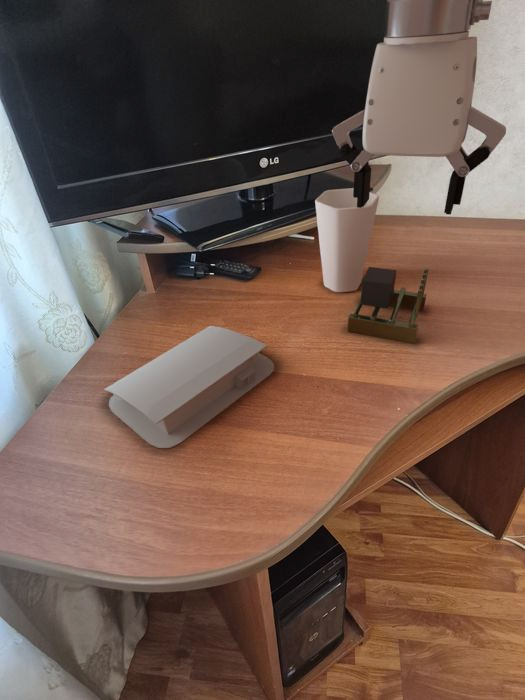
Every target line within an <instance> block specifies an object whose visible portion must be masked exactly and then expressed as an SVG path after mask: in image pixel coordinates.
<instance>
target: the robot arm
mask: <svg viewBox="0 0 525 700" xmlns="http://www.w3.org/2000/svg"><path fill="white" fill-rule="evenodd" d="M492 4H493V0H487V1H485V0H386V7H385V20H384V21H385V22H384V32H383V33H384V35H383V36H384V37H383V42H379V43H377V44H376V47H375V50H374V55H373V59H372V63H371V70H370V73H369V74H370V75H369V79H368V86H367V91H366V93H367V94H366V99H365V106H364V109H362V110H361V111H358V112H357V113H355V114H353V115H352V116H350V117H348V118H347V119H345V120H343V121H342V122H340V123H337V124H336V125H335V126H333V128H332V130H331V133H332V136H333V138H334V140H335V143H336V145H337V147H338V149H339V154H340V155H341V157H342V158H343V159H344V160H345V161H346V162H347V164H349V166H350V168H351V171H352V172H354V173H353V174H354V175H353V188H354V190H353V197H354V198H357V207H358V208H362V207H364V205H365V204H366V203H367V201H368V200H369V194H370V192H371V191H370V190H371V178H372V167H371V165H370V164H369V163H370V162H369V161H370V160H371V159H372V158H373V157H374V155H375V156H392V157H394V156H395V157H421V158H422V157H425V158H426V157H427V158H444V157H445V158H446V159H447V161H448V162H449V164H450V165H451V167H452V169H453V170H452V172H451V175H450V178H449V183H448V188H447V194H446V199H445V204H444V205H445V206H444V210H443V213H444V214H445V215H452V212H453V208H454V206H455V205H457V206H460V205H461V203H462V198H463V193H464V188H465V183H466V179H467V178H466V177H467V176H469V173H471V172H472V171H473V170H475V169H476V168H477V167H479V166H480V165H481V164H482V163H484V162H485V161H486V160H487V159H489V157H490V156H491V154H492V153H493V151H494V150H495V149H496V148H497V146H498V145H499V144H500V143H501V141H502V140H503V139H504V137H505V136H506V135H507V127H506V125H504V124H502V123H500V122H499V121H497V120H495V119H494V118H492V117H490V116H489V115H487V114H485V113H484V112H482V111H481V110H479V109H477V108H475V107H474V106H472V104H473V96H474V91H475V90H474V89H475V82H476V73H477V62H478V37H477V36H469V35H470V30H471V27H472V26H474V25H475V24H476V23H480V21H489V19H490V14H491V10H492ZM361 126H362V136H361V137H362V147H363V150H361V151H360V150H359V149H358V148H357V146H356V145H355V144H354V143H353V142H352V140H351V137H350V132H351V131H353V130H355V129H357V128H359V127H361ZM469 126H470V127H472V128H474V129H475V130H477V131H479V132H480V133H482V134H484V135H485V138H484V140H483V142H482V143H481V144H480V145H479V146H478V147H477V148H476V149H475V150H473V151H472V152H471V153H469V154H468V153H467V152H466V150H465V149H464V147H463V146H462V145H463V143H464V142H465V139H466V137H467V133H468V128H469Z"/></svg>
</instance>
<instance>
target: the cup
mask: <svg viewBox="0 0 525 700" xmlns="http://www.w3.org/2000/svg"><path fill="white" fill-rule="evenodd" d="M353 190H354V187H352V188H350V187H349V188H348V187H347V188H337V189H328V190H324V191H323V192H322V193H321V194H320V195H319V196H318V197H317V198H316V199H315V200H314V203H315V214H316V223H317V233H318V242H319V243H318V244H319V253H320V261H321V270H322V271H321V273H322V282H323V286H324V287H325V288H327V289H328V290H330V291H332V292H334V293H347V292H348V293H349V292H354V291H357V290H358V289H359V287H360V285H362V280H363V277H364V276H363V275H364V271H365V266H366V262H367V257H368V251H369V247H370V243H371V237H372V233H373V229H374V224H375V218H376V214H377V211H378V205H379V200H380V196H379V195H378V194H377V193H374V192H371V191H370V194H369V200H368V201H367V203H366V204H365V205H364V207H362V208H358V207H357V198H354V197H353Z"/></svg>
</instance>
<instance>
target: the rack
mask: <svg viewBox="0 0 525 700" xmlns="http://www.w3.org/2000/svg"><path fill="white" fill-rule="evenodd" d="M428 274H429V268H427V267H425V268H424V271H423V273H422V278H421V280H420V284H419V287H418V290H417V292H415V291H414V292H413V291H407V290H406V289H407V288H406V287H405V286H402V287H401V288H400V289H394V294H393V297H392V299H391V302H390V305H389V307H388V308H393V310H392V313H391V315H390V318H389V319H387V318H386V319H385V318H381V317H378V315H379V314H378V313H379V312H380V309H381V307H374V309H373V311H372V314H371V315H370V316H368V315H364V314H363V315H362V314H359V313H360V312H361V309H362V307H363V305H361V304H360V303H361V297H360V298H359V300H358V302H357V305H356V307H355V308H354V310H353V312H352V313H349V315H348V317H347V318H348V319H347V333H353V334H359V335H364V336H369V337H375V338H381V339H386V340H390V341H396V342H402V343H406V344H407V343H408V344H412V345H415V343H416V340H417V336H418V335H417V334H418V329H419V325H418V324H416V319H418V316H419V313H424V310H425V305H426V301H427V294H426V293H425V290H426V284H427V279H428ZM400 309H402V310H408V311H412V312H411V315H410V319H409V322H408V323H407V322H404V321H397V319H396V318H397V316H398V313H399V312H400V311H399V310H400Z"/></svg>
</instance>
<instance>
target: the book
mask: <svg viewBox="0 0 525 700" xmlns="http://www.w3.org/2000/svg"><path fill="white" fill-rule="evenodd" d="M267 347H268V345H267V344H265V343H263V342H262V341H259V340H257V339H255V338H252V337H251V336H248V335H245V334H242V333H240V332H238V331H234V330H232V329H229V328H225V327H221V326H214V325H209V326H207V327H205V328H204V329H202V330H200V331H199V332H197V333H195V334H194V335H191V336H190V337H188V338H187V339H185V340H184V341H182V342H180V343H178V344H177V345H175V346H174V347H172V348H170V349H169V350H167V351H165V352H163V353H162V354H160V355H158V356H157V357H155V358H153V359H152V360H150V361H148V362H147V363H145V364H143V365H142V366H140V367H138V368H136V369H135V370H134V371H132V372H130V373H129V374H127V375H125V376H123V377H122V378H120V379H119V380H117V381H115V382H113V383H111V384H110V385H108V386H107V387H105V388H104V391H106V392H109V393H111V394H112V396H111V397H110V398H109V402H108V404H107V405H108V408H109V409H110V411H111V412H112V413H113V414H114V415H115V416H116V417H117V418H118V419H119V420H121V421H122V422H123V423H125V425H126V426H128V427H129V429H131V430H132V431H133V432H135V433H136V434H137V435H138V436H139V437H140V438H141V439H143V440H144V441H145V442H146V443H147V444H149V445H151V446H152V447H154V448H158V449H171V448H173V447H175V446H178V445H179V444H181V443H182V442H184V441H185V440H186V439H187V438H189V437H190V436H192V435H193V434H195V432H197V431H198V430H199V429H201V428H202V427H204V425H206V424H207V423H209V422H210V421H211V420H212V419H214V418H216V416H218V415H219V414H221V413H222V412H223V411H225V410H226V409H227V408H228V407H230V406H231V405H232V404H234V403H235V402H236V401H237V400H239V399H240V398H242V397H243V396H244V395H246V394H247V393H248V392H249V391H251V390H253V388H255V387H256V386H258V385H259V384H260V383H261V382H263V381H264V380H265V379H266V378H268V377H269V376H271V374H272V373H273V372H274V370H275V365H274V361H272V359H270V358H269V357H268V356H265V355H263V354H261V353H260V352H262V351H264V349H266V348H267Z"/></svg>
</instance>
